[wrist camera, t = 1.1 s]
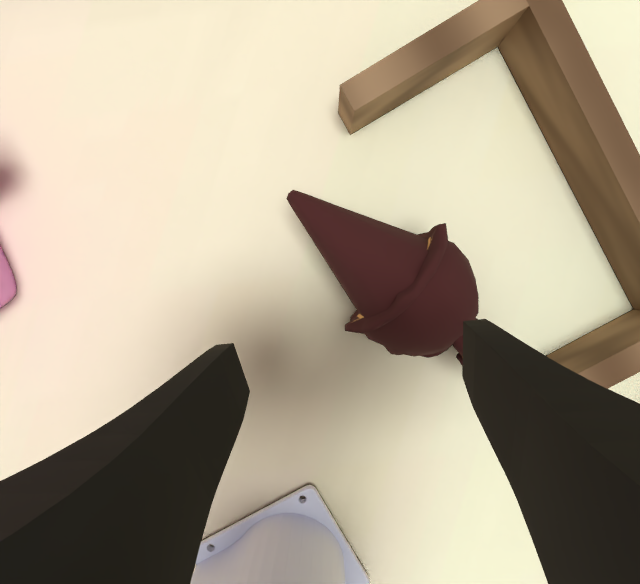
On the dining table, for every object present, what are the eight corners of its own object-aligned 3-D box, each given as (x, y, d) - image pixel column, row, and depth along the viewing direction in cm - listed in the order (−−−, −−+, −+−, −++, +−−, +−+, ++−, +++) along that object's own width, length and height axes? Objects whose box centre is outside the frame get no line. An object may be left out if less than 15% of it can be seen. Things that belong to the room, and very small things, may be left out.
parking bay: (499, 406, 21) (528, 429, 18) (338, 112, 20) (339, 85, 17) (666, 318, 20) (725, 327, 17) (508, 9, 19) (542, -39, 16)
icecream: (223, 265, 14) (472, 455, 16) (328, 113, 12) (607, 356, 14) (265, 239, 21) (439, 376, 22) (339, 137, 18) (526, 299, 20)
